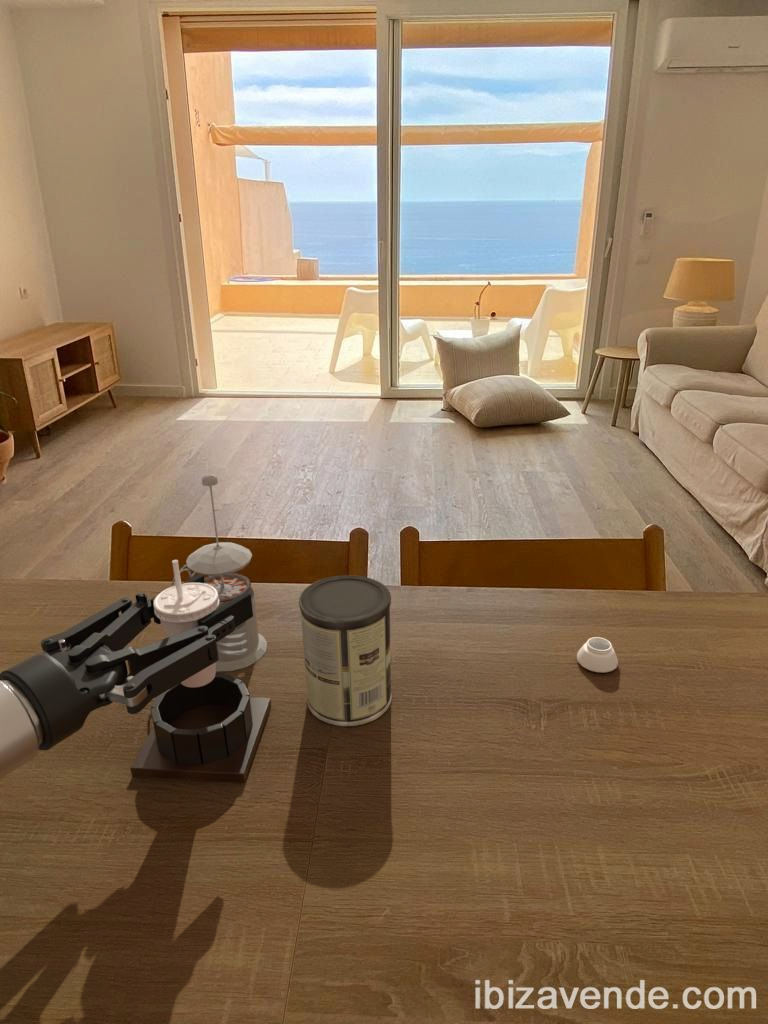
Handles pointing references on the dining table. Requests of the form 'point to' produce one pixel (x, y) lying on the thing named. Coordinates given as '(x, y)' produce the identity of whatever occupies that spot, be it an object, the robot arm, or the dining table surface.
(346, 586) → the coffee can
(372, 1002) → the dining table surface
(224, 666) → the french press
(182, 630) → the smoothie
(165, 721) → the cup holder
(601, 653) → the upturned white bowl
